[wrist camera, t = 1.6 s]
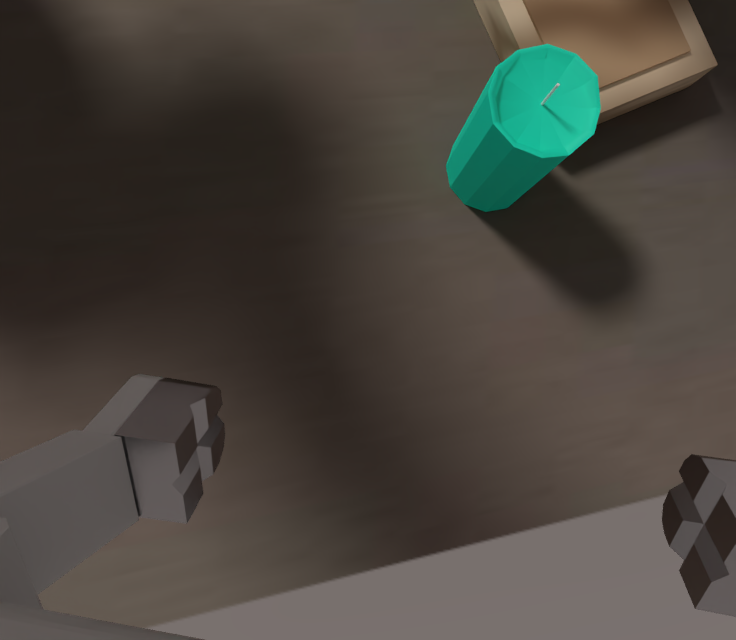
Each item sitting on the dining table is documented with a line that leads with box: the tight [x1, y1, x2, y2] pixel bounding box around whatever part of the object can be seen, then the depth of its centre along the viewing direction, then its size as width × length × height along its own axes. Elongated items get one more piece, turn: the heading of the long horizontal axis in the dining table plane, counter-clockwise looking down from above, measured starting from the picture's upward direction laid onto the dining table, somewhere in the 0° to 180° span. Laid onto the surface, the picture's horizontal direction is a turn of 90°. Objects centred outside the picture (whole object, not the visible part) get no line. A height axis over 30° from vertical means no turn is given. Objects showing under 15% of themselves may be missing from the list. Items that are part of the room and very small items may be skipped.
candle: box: [446, 44, 601, 212], centre depth 31 cm, size 6×6×12 cm
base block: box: [473, 0, 718, 125], centre depth 37 cm, size 12×12×3 cm
